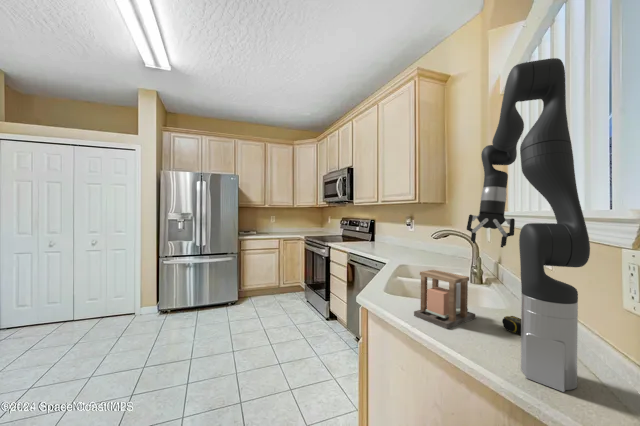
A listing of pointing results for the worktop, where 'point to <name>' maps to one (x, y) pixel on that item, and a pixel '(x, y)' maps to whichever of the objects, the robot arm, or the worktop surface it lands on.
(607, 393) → the worktop surface
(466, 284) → the brown table-shaped piece
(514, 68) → the robot arm
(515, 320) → the tape measure
